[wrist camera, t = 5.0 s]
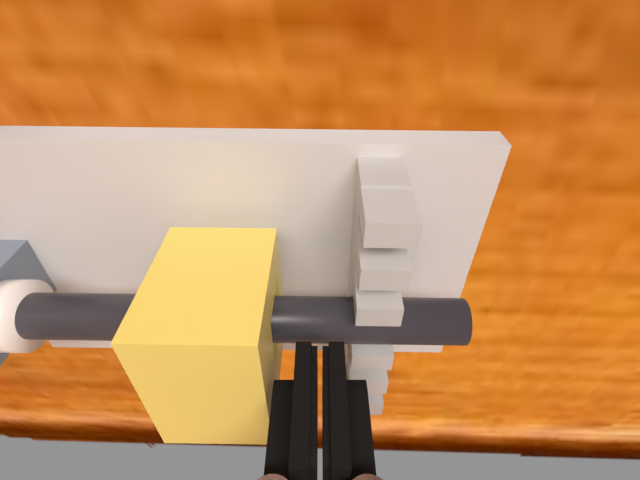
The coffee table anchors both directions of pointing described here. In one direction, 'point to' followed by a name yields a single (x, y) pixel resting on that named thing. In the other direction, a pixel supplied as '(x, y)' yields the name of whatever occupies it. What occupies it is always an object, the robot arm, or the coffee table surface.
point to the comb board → (249, 212)
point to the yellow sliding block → (206, 335)
